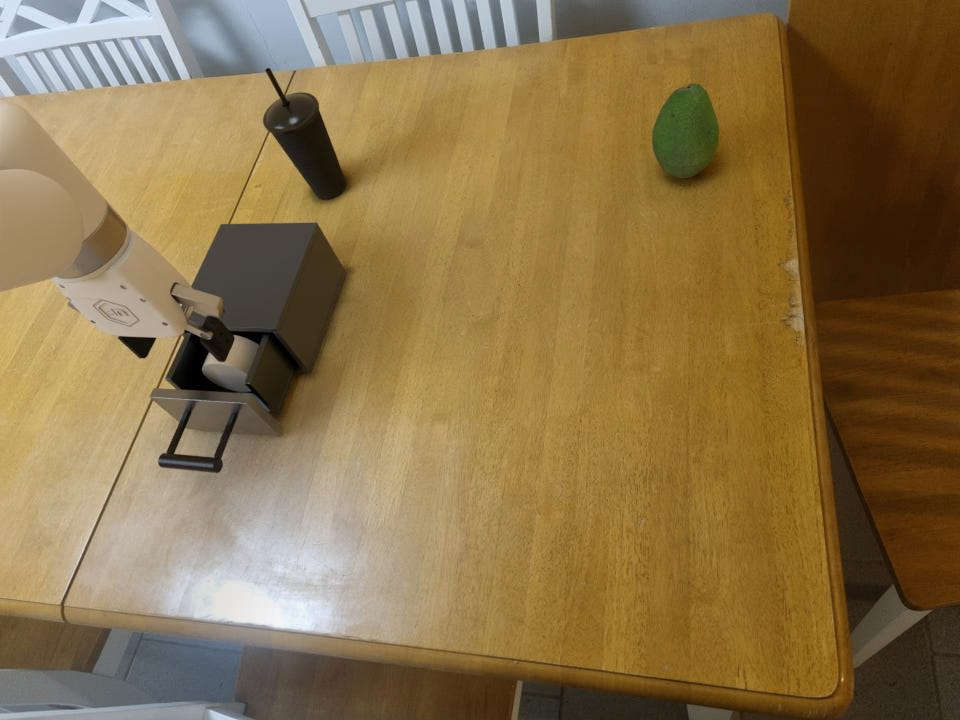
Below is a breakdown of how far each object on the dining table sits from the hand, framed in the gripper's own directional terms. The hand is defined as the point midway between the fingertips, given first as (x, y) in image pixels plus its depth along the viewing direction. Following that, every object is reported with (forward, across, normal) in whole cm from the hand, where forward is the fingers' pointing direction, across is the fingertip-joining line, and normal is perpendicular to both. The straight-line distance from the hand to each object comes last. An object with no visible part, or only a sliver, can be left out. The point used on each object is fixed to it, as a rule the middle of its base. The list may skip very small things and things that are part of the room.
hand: (187, 348), depth 77 cm
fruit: (+13, +49, +38) cm, 63 cm away
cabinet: (+13, 0, +13) cm, 19 cm away
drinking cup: (+13, 0, +36) cm, 39 cm away
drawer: (+12, 0, 0) cm, 12 cm away
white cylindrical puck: (+8, 0, +1) cm, 8 cm away
